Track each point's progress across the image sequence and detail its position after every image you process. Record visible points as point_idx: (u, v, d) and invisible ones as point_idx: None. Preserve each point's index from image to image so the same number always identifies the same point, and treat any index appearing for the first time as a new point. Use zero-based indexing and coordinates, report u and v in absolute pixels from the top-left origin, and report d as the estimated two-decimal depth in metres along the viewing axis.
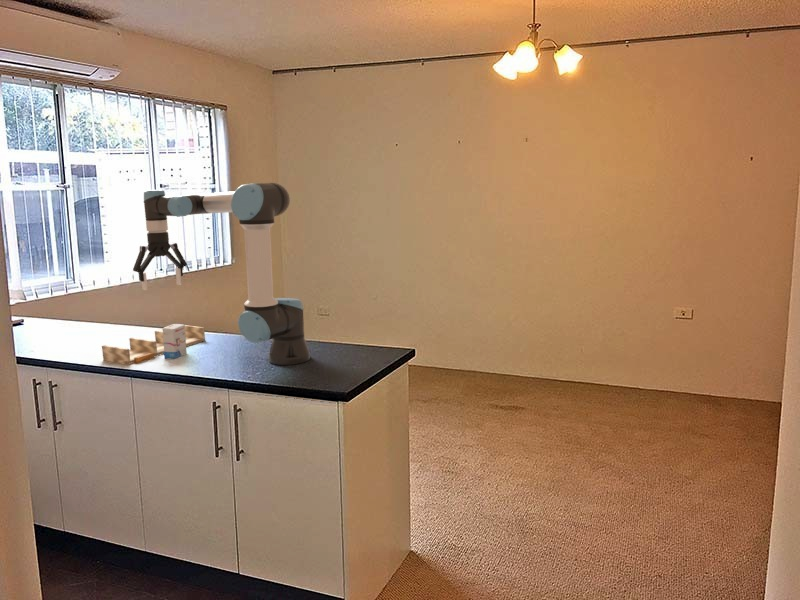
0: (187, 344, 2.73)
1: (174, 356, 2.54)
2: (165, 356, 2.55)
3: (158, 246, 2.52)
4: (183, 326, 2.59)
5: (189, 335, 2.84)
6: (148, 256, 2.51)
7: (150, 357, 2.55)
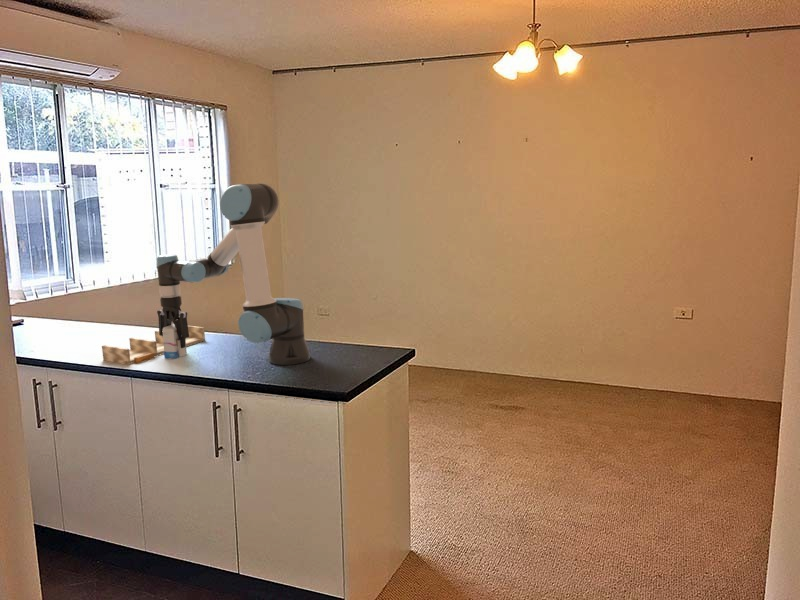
0: (187, 344, 2.73)
1: (174, 356, 2.54)
2: (165, 356, 2.55)
3: (167, 307, 2.55)
4: None
5: (189, 335, 2.84)
6: None
7: (150, 357, 2.55)
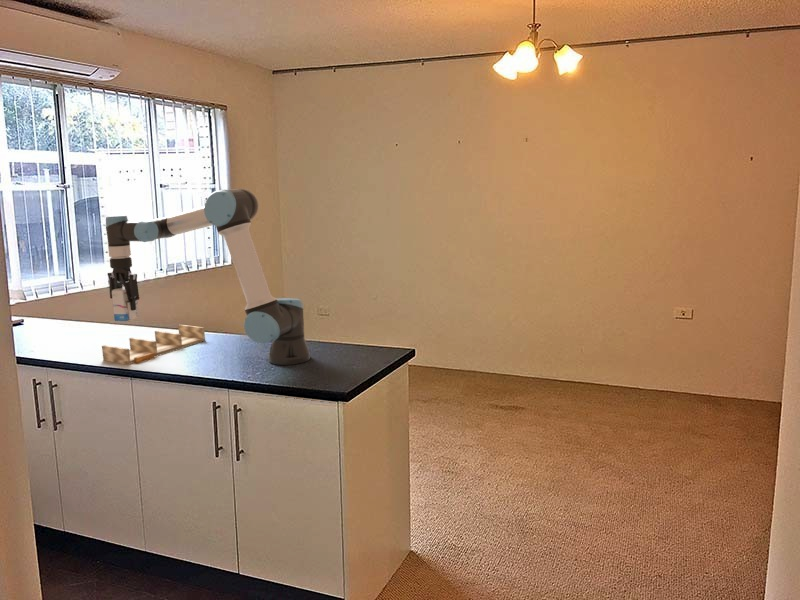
0: (187, 344, 2.73)
1: (124, 319, 2.50)
2: (115, 319, 2.51)
3: (117, 269, 2.50)
4: None
5: (189, 335, 2.84)
6: None
7: (150, 357, 2.55)
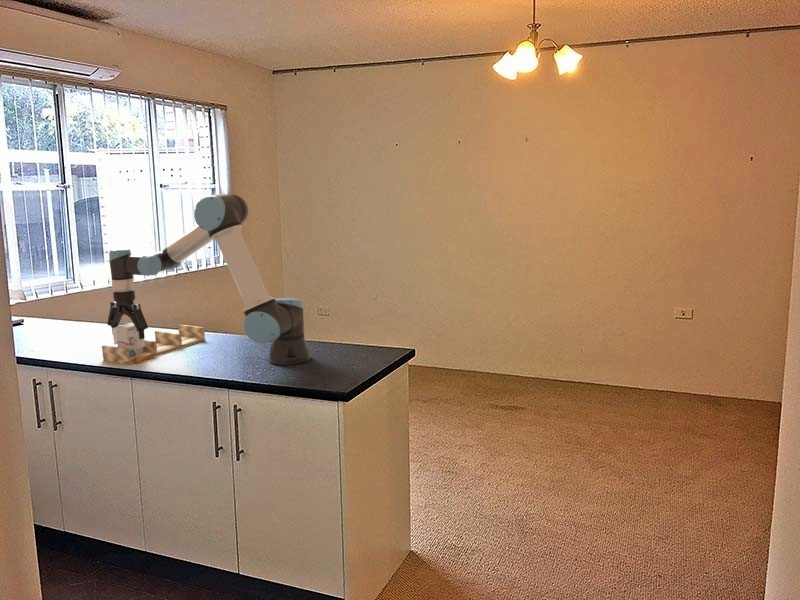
0: (187, 344, 2.73)
1: None
2: None
3: (121, 304, 2.53)
4: None
5: (189, 335, 2.84)
6: None
7: (150, 357, 2.55)
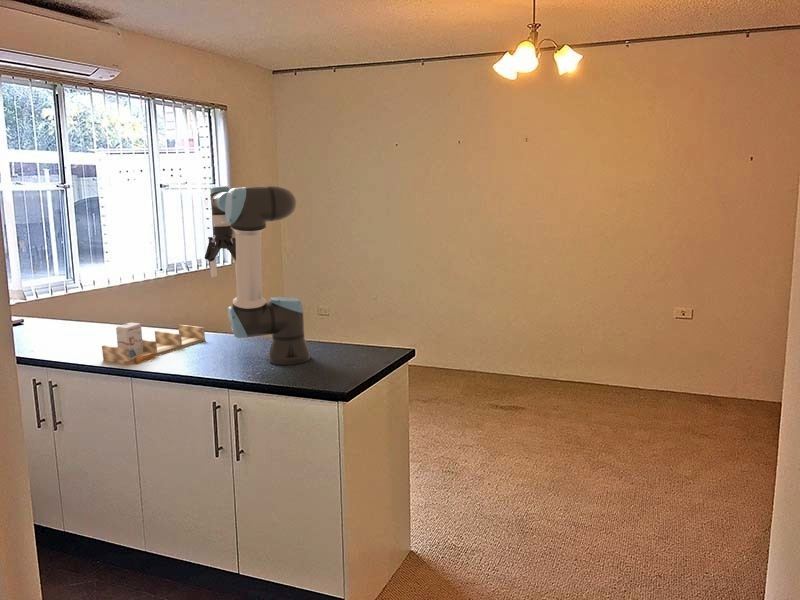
0: (187, 344, 2.73)
1: None
2: None
3: (220, 239, 2.70)
4: (139, 325, 2.57)
5: (189, 335, 2.84)
6: None
7: (150, 357, 2.55)
